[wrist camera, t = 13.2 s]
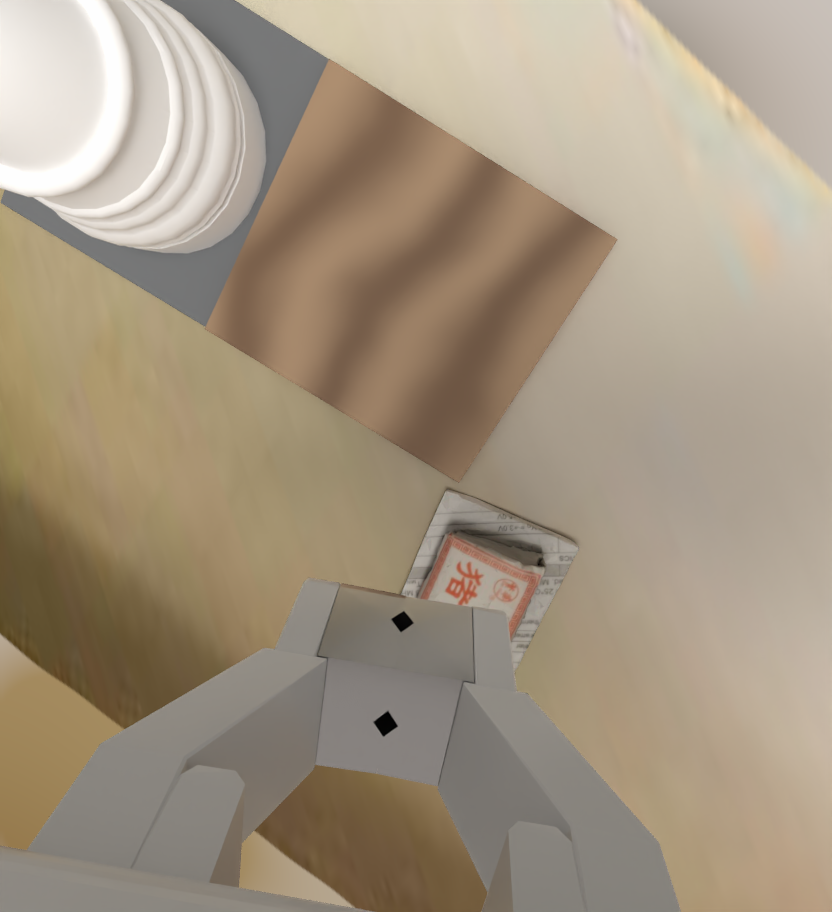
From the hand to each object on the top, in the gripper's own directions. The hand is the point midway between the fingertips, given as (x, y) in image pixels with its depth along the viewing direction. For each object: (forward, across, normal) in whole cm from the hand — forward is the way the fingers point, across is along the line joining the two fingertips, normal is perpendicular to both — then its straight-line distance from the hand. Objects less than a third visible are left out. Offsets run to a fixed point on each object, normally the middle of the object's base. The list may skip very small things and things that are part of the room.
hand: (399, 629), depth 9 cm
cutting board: (+31, +3, -1) cm, 32 cm away
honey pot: (+33, +19, -7) cm, 39 cm away
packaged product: (+29, -5, +21) cm, 36 cm away
